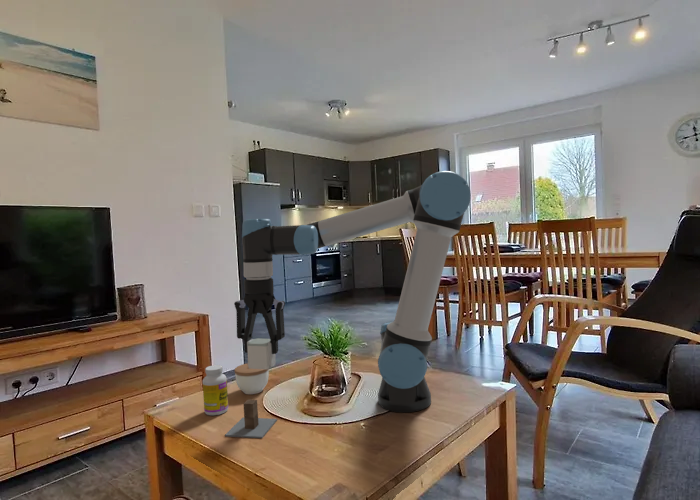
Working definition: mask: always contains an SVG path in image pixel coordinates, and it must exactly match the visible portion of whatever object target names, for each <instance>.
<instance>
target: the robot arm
mask: <svg viewBox="0 0 700 500" xmlns="http://www.w3.org/2000/svg"><path fill="white" fill-rule="evenodd" d="M471 194H472V193H471V189H470V186H469V184H468V182H467V180H466V179H465V178H464V177H463V176H462V175H460V174H458V173H457V172H454V171H450V170H442V171H441V170H440V171H436V172H434V173H432V174H430V175H428V177H426V178H425V180H424V181H423V183H422V184H421V185H419V186H417V187H415V188H412V189H409V190H406V191H405V192H404V194H403V195H401V196H398V197H396V198H395V197H394V198H391V199H388V200H384V201H381V202H378V203H374V204H372V205H368V206H365V207H361V208H359V209H355V210H352V211H351V210H350V211H348V212H345V213H344V212H343V213H341V214H338V215H334V216H331V217H328V218H325V219H322V220H318V221H316V222H311V223H308V224H301V225H299V224H298V225H273V224H272V221H271V219H270V218H251V219H250V218H248V219H244V220H243V222H242V227H241V228H242V231H241V233H242V234H241V239H242V241H241V243H242V257H243V260H242V262H243V263H242V264H243V277H244V278H245V279H244V280H243V288H244V297H243V299H239V300H236V301H234V308H235V312H236V337H237V339H241V340H243V344H244V345H243V346H244V348H243V349H244V353H247V354H248V343H249V342H251V341H253V340H254V339H255V338H254V339H253V331H254V327H255V323H256V318H257V315H258V314H261V315H262V318H264V319H263V320H264V323H265V325H266V329H267V333H268V336H269V339H270V340H271V341H270V342H268V354H269V367H270V368H272V367H274V366H276V365H277V363H276V354H277V353H278V352H279V341H281V340H282V339H283V338H285V335H286V333H285V332H286V331H285V317H284V314H285V313H284V309H285V305H286V302H285V300H278V299H276V297H275V295H274V293H275V291H274V279H273V278H272V276H274V270H273V266H274V265H273V262H274V261H273V255H274V256H278V255H282V256H283V255H284V256H285V255H288V256H289V255H291V256H292V255H296V256H297V255H301V256H305V255H306V256H307V255H314V254H315V253H317V252H318V249H321V248H325V247H328V246H330V245H331V246H332V245H334V244H338V243H342V242H345V241H348V240H352V239H355V238H359V237H362V236H366V235H369V234H374V233H377V232H380V231H384V230H386V229H391V228H395V227H398V226H400V225H405V224H408V223H412V224H414V225H415V227H416V233H415V235H414V236H415V237H414V242H413V245H412V249H411V253H410V256H409V260H408V266H407V270H406V273H405V277H404V281H403V285H402V289H401V294H400V296H399V302H398V305H397V309H396V312H395V317H394V320H393V321H391V322H384V323H382V324H381V326H380V332H379V333H380V338H381V340H380V341H381V342H380V343H381V345H380V350H379V356H378V359H377V368H378V370H379V373H380V376H381V381H380V382H381V383H380V385H379V388H378V389H379V390H378V393H377V402H378V405H379V406H380V407H381V408H383V409H385V410H388V411H390V412H396V413H413V412H419V411H422V410H425V409H426V408H429V406H430V405H431V404H432V394H431V391H430V388H429V386H428V383H427V380H426V378H425V376H426V374H427V371H428V362H427V359H428V355H429V351H430V347H431V343H432V340H433V338H432V335H431V333H430V332H429V325H430V322H431V319H432V315H433V310H434V307H435V303H436V299H437V294H438V291H439V287H440V284H441V280H442V275H443V271H444V266H445V264H446V260H447V256H448V251H449V248H450V243H451V240H452V238H453V236H455V235H457V234H458V233H460V230H461V227H462V224H463V219H464V215H465V212H466V211H467V209H468V208H469V206H470V203H471V197H472V195H471ZM273 306H274V309H275V321H274V317H273V310H272V307H273ZM246 307H247V309H248V311H247V320H246V309H245V308H246ZM248 366H249V365H248Z"/></svg>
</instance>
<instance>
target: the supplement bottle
mask: <svg viewBox="0 0 700 500" xmlns="http://www.w3.org/2000/svg"><path fill="white" fill-rule="evenodd" d="M204 372H205V374H206V376H204V378H203V379H202V393H203V395H202V396H203V397H202V398H203V409H204V410H203V411H204V413H205V415H206V416H219V415H223V414H224V413H226V412H227V411H228V410H229V395H228V394H229V393H228V378H227V376H226V374H224V373H223V366H222V365H221V364H215V365H208V366H206V367H205V371H204Z"/></svg>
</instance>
